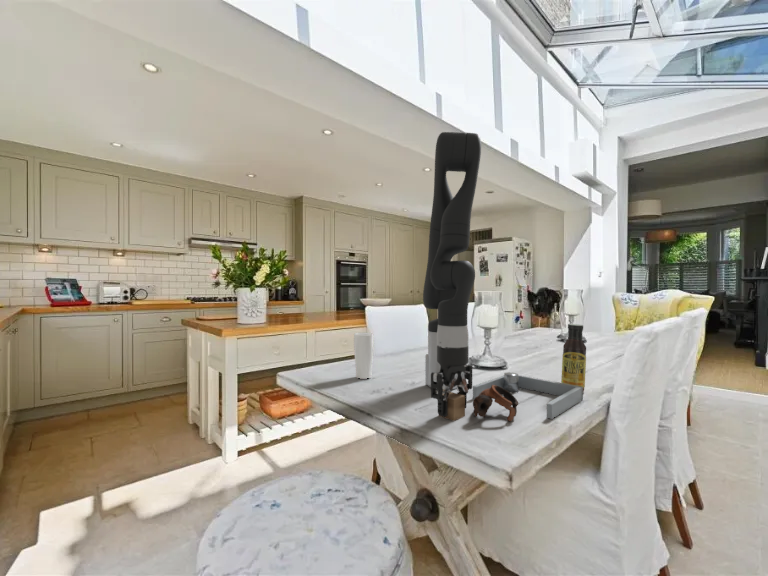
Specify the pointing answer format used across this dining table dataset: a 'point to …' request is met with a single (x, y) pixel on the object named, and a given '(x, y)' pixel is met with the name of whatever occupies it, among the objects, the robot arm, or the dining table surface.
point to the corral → (566, 392)
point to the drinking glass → (363, 354)
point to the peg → (511, 382)
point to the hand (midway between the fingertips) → (452, 411)
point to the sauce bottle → (574, 357)
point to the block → (455, 406)
